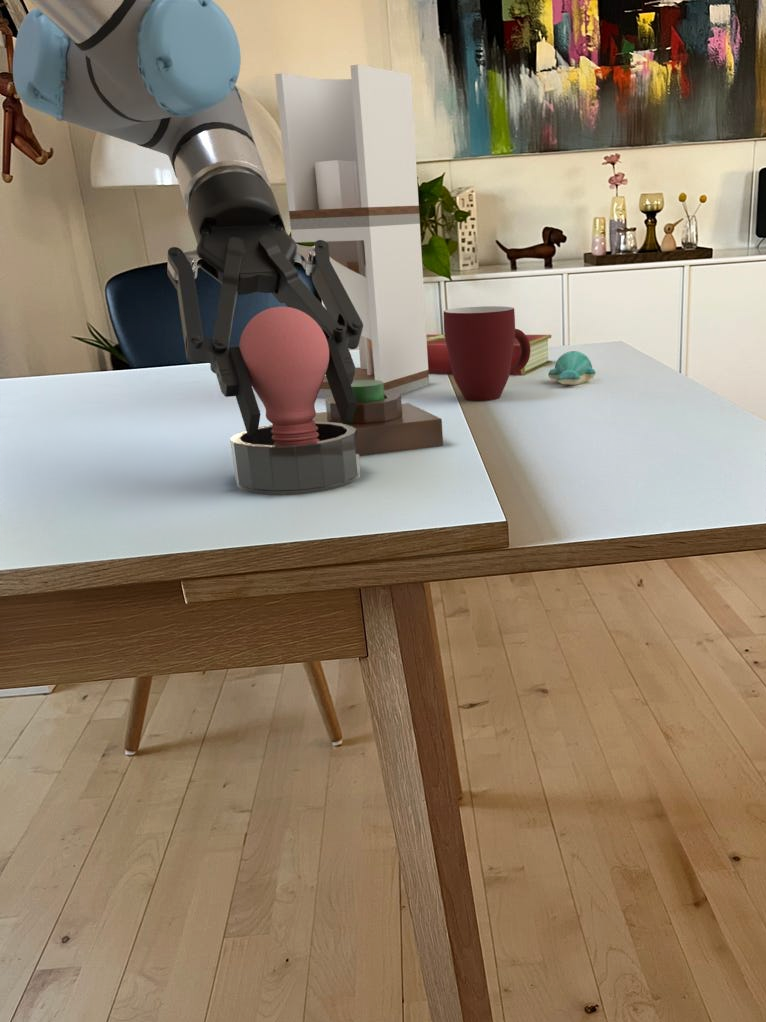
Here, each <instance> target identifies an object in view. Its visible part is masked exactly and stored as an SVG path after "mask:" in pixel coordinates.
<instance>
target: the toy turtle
mask: <svg viewBox="0 0 766 1022" xmlns="http://www.w3.org/2000/svg"><path fill="white" fill-rule="evenodd" d="M596 374H597V373H596V370H595V369H594V368H593V364H592V361H591V360H590V358H589V357H588V356H587V355H586V354H585V353H583V352H580V351H578V350H577V351H576V350H572V351H571V350H570V351H567V352H565V353H563V354H561V355H560V356H559V357H558V358H557V360H556V362H555V363H554V367H553V368H552V369H550V370H549V371H548V378H549V379H551V380H555V381H556V382H557V383H559V384H561V385H564V386H577V385H582V384H585V383H588V382H590V381H591V379H593V378H595V376H596Z"/></svg>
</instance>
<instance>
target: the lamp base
mask: <svg viewBox="0 0 766 1022" xmlns="http://www.w3.org/2000/svg"><path fill="white" fill-rule="evenodd" d="M384 396H385V399H382V400H377V401H369V402H357V406H356V409H355V413H354V416H353V420H352V423H349V424H347V425H351V426H352V427H354V428H356V429H357V435H358V447H359V457H365V456H372V455H373V456H374V455H380V454H381V455H382V454H389V453H397V452H405V451H414V450H422V449H430V448H438V447H444V436H443V419H442V418H441V417H439V416H437V415H435V414H432V413H431V412H428V411H426V410H425V409H422V408H420V407H419V406H416V405H413V404H411V403H410V402H407V403H406V402H405V403H402V394H400V395H398V394H396V393H390V392H384ZM312 420H314V421H315V422H334V423H341V424H343V423H342V420H341V418H340V415H339V412H338V409H337V406H336V403H335V400H334V398H333V397H330V398H326V399H325V411H322V412H316V415H315V417H314V418H313V419H312Z"/></svg>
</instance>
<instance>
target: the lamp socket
mask: <svg viewBox="0 0 766 1022" xmlns="http://www.w3.org/2000/svg"><path fill="white" fill-rule="evenodd" d="M272 425H273V424H268V425H264V426H259V427H258V434H257V435H251V436H248V434H247V431H246V430H243V431H239V432H237V433H235V434H234V435H232V436H231V437H230V438H229V442H230V449H231V456H232V465H233V471H234V478H235V479H234V480H235V481H236V486H237V488H238V489H239V490H241V491H243V492H246V493H250V494H257V495H266V496H292V495H295V496H297V495H306V494H307V495H308V494H314V493H320V492H321V493H322V492H327V491H330V490H332V491H333V490H336V489H340V488H342V487H345V486H348V485H351V484H353V483H355V482H356V481H358V480H359V479H360V477H361V461H360V456H359V447H358V435H357V429H356V428H354V427H352V426H351V425H347V424H341V423H334V422H315V426H317V427H318V430H317V431H316V432H317V433H318V434H319V436H318V437H317V439H319V441H318V442H311V443H302V444H293V445H274V442H275V440H273V439H272V436H273V435H274V434H272V433H271V430H272V429H273V426H272Z"/></svg>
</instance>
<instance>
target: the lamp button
mask: <svg viewBox="0 0 766 1022" xmlns="http://www.w3.org/2000/svg"><path fill="white" fill-rule="evenodd" d="M351 387H352V389H353V392H354V395H355V398H356V401H357V402H369V401H377V400H382V399H385V396H384V383H383V381H379V380H358V381H353V382H352V384H351Z"/></svg>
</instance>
